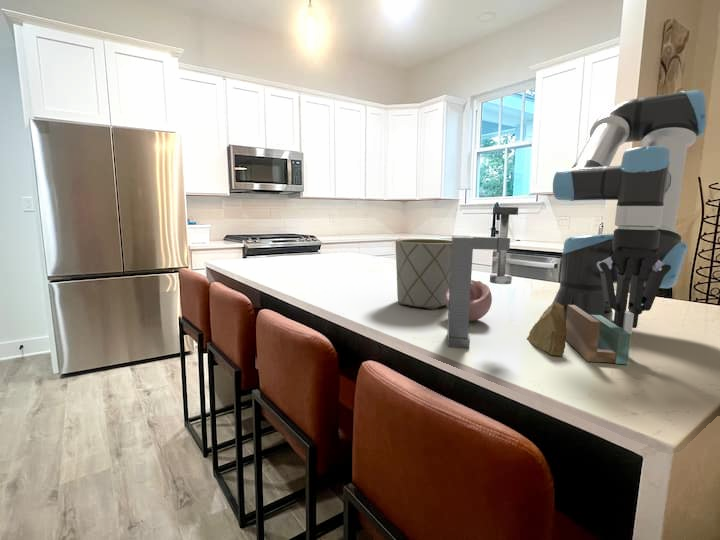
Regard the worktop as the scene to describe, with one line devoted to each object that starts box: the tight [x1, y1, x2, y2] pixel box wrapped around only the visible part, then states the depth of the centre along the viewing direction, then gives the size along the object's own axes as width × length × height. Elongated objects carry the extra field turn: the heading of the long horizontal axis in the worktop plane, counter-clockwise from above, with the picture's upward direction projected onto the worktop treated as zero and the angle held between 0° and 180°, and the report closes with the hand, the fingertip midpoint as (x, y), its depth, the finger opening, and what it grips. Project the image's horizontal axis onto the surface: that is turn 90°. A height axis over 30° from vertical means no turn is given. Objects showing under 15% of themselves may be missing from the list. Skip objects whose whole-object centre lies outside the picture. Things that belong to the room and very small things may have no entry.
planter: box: [395, 238, 452, 311], centre depth 120 cm, size 19×19×20 cm
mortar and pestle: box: [445, 279, 493, 322], centre depth 102 cm, size 12×12×11 cm
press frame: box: [446, 235, 511, 349], centre depth 84 cm, size 12×9×24 cm
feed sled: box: [565, 305, 632, 365], centre depth 80 cm, size 7×14×8 cm, turn 169°
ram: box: [489, 206, 519, 285], centre depth 81 cm, size 5×5×16 cm
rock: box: [526, 300, 567, 357], centre depth 82 cm, size 11×9×10 cm
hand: (623, 342), depth 79 cm, fingers closed
